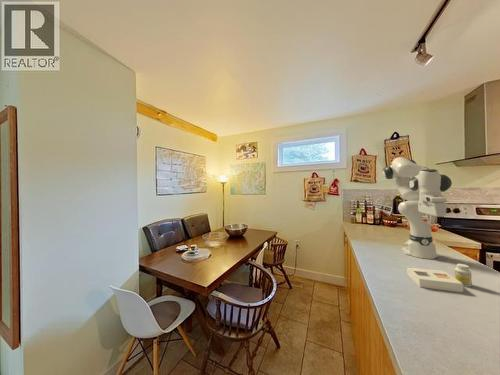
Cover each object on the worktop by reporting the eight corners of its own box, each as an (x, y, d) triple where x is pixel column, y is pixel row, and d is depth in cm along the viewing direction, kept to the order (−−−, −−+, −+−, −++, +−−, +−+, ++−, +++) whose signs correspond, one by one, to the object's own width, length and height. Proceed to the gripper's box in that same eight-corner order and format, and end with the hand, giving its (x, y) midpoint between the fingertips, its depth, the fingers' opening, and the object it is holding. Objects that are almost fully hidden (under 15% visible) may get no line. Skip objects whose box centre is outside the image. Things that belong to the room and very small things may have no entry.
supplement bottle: (465, 287, 89) (464, 267, 90) (452, 282, 95) (451, 263, 95) (475, 286, 90) (474, 267, 90) (461, 281, 95) (460, 262, 95)
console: (407, 274, 104) (407, 267, 104) (444, 278, 99) (444, 271, 99) (419, 286, 91) (419, 278, 91) (463, 292, 86) (462, 283, 86)
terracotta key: (433, 280, 97) (433, 274, 97) (446, 281, 95) (445, 275, 95) (439, 284, 92) (439, 278, 92) (452, 286, 90) (452, 280, 90)
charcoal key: (414, 277, 100) (414, 272, 100) (426, 279, 98) (426, 273, 98) (419, 282, 95) (418, 276, 95) (431, 283, 93) (431, 277, 93)
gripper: (414, 197, 115) (415, 219, 114) (432, 199, 95) (434, 225, 95) (427, 196, 112) (428, 219, 112) (449, 198, 93) (450, 226, 93)
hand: (431, 222), depth 104 cm, fingers closed
